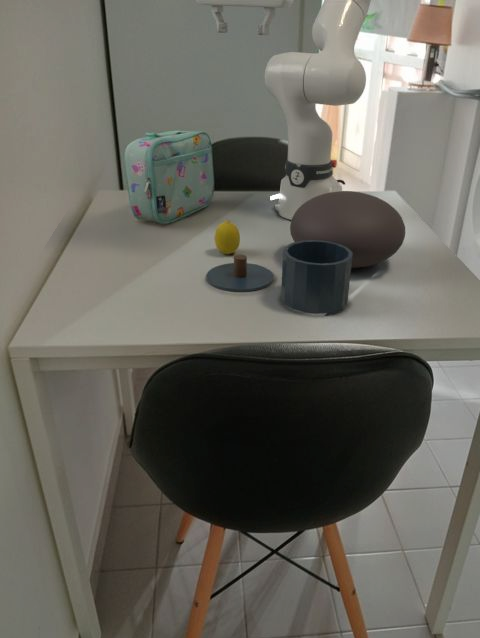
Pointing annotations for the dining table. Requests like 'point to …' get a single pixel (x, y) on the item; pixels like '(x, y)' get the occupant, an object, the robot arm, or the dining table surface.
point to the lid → (240, 276)
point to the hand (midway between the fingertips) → (242, 33)
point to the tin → (316, 276)
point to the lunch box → (169, 175)
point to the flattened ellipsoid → (351, 225)
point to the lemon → (227, 238)
